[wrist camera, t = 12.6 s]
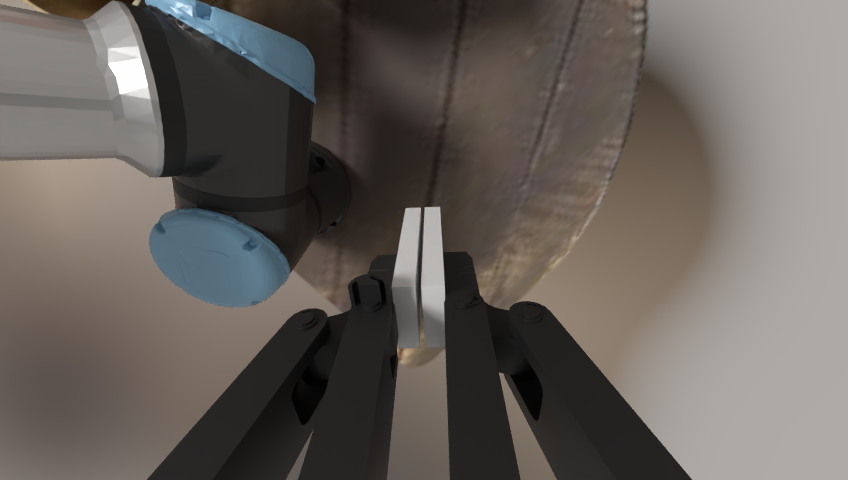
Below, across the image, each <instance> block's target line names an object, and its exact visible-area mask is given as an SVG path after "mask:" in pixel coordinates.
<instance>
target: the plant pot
mask: <svg viewBox="0 0 848 480" xmlns="http://www.w3.org/2000/svg"><path fill="white" fill-rule="evenodd" d="M23 1H24V2H26V3H27V4H29V5H30V6H31V7H33V8H34V9H36V10H37V11H39V12H42V13H47V14H53V15H58V16H63V17H68V18H73V19H79V20H83V19H88V18H89V17H91V16H92V15H93V14H95V13H96V12H97V11H99V10H100V9H101V8H103V7H104V6H105V5H107V4H108V3H109V2H111V1H113V0H23ZM114 1H120V2H123V3H128V4H132V5H136V6H140V7H145V8H148V6H147V5H146V3H145V0H114ZM197 1H200V2H203V3H206V4H208V5H210V4H212V3H213V2H214V1H216V0H197Z"/></svg>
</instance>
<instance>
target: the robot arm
mask: <svg viewBox="0 0 848 480" xmlns="http://www.w3.org/2000/svg"><path fill="white" fill-rule="evenodd" d="M145 3H146V5H147V6H148V8H145V7H140V6H136V5H132V4H128V3H123V2H120V1H114V0H113V1H111V2H109V3H108V4H107V5H105V6H104V7H103V8H101V9H100V10H99V11H97V12H96V13H95V14H93V15H92V16H91V17H89V18H88V19H83V20H79V19H73V18H68V17H63V16H58V15H53V14H47V13H42V12H37V11H31V10H27V9H21V8H16V7H11V6H6V5H0V161H14V160H15V161H17V160H54V159H55V160H56V159H57V160H58V159H98V158H99V159H100V158H116V159H119V160H122V161H125V162H126V163H128V164H129V165H131V166H133V167H134V168H136V169H138V170H139V171H141V172H143V173H144V174H146V175H147V176H149V177H155V178H157V177H172V181H173V189H174V197H175V204H176V205H175V209H174V210H172V211H170V212H167V213H165V214H164V215H162V217H161V218H160V220H159V221H158V223H157V224H155V226H154V227H153V229H152V231H151V234H150V238H149V246H150V250H151V254H152V256H153V259H154V261H155V263H156V264H157V266H158V267H159V268H160V270H161V271H162V272H163V273H164V275H165V276H166V277H167V278H169V279H170V280H171V281H172V282H173V283H174V284H175V285H177V286H179V287H180V288H182V289H183V290H184V291H186V292H187V293H188V294H190V295H192V296H194V297H196V298H198V299H200V300H203V301H205V302H209V303H211V304H215V305H219V306H225V307H248V306H252V305H256V304H258V303H260V302H262V301H265V300H267V299H268V298H270V297H271V296H272V295H273V294H274V293H275V292H276V291H277V290H278V289H279V288H280V287H281V286H282V285H283V284H284V283H285V282H286V281H287V279H288V277H289V274H290V273H291V271H292V270H293V268H294V267H295V266H296V264H297V263H298V261H299V260H300V258H301V257H302V255H303V254H304V252H305V251H306V250H307V248H308V247H309V245H310V244H311V242H312V241H313V239H315V238H318V237H320V236H322V235H325V234H327V233H328V232H330V231H331V230H333V229H334V228H335V227H336V226H337V225H338V224H339V223H340V222H341V220H342V219H343V217H344V215H345V214H346V212H347V210H348V207H349V203H350V196H351V192H350V184H349V180H348V177H347V175H346V173H345V171H344V169H343V167H342V165H341V164H340V163H339V161H338V160H337V159H336V158H335V157H334V156H333V155H332V154H331V153H330V152H329V151H328V150H326V149H325V148H323V147H322V146H320V145H318V144H316V143H314V142H312V141H311V133H312V119H313V105H314V104H316V98H315V97H314V80H315V65H314V60H313V57H312V55H311V53H310V52H309V50H308V49H307V48H306V47H305V46H304V45H303V44H302V43H300V42H299V41H297V40H295V39H293V38H291V37H289V36H286V35H284V34H282V33H280V32H277V31H275V30H273V29H270V28H268V27H265V26H263V25H260V24H258V23H256V22H253V21H251V20H248V19H245V18H243V17H240V16H238V15H235V14H233V13H230V12H227V11H225V10H222V9H219V8H217V7H212V6H210V5H208V4H206V3H203V2H200V1H197V0H145ZM348 290H349V295H350V300H351V305H352V307H351V310H349V311H347V312H345V313H342V314H338V315H334V316H330V317H327V314H326V313H325V312H324V311H323V310H320V309H306V310H302V311H300V312H298V313H296V314H294V315H293V316H292V317H290V318H289V319H288V320H287V321H286V322H285V324H284V325H283V326H282V327H281V328H280V329H279V330H278V332H277V333H276V334H275V335H274V336H273V337H272V338H271V339H270V341H269V342H268V343H267V344H266V345H265V346H264V347H263V349H262V350H261V351H260V352H259V353H258V354H257V355H256V357H255V358H254V359H253V360H252V361H251V362H250V363H249V364H248V366H247V367H246V368H245V369H244V370H243V371H242V372H241V373H240V375H239V376H238V377H237V378H236V379H235V380H234V382H233V383H232V384H231V385H230V386H229V387H228V388H227V389H226V391H225V392H224V393H223V394H222V395H221V396H220V397H219V398H218V400H217V401H216V402H215V403H214V404H213V405H212V406H211V407H210V409H209V410H208V411H207V412H206V413H205V414H204V416H203V417H202V418H201V419H200V420H199V421H198V422H197V423H196V424H195V426H194V427H193V428H192V429H191V430H190V431H189V432H188V434H187V435H186V436H185V437H184V438H183V439H182V440H181V442H180V443H179V444H178V445H177V446H176V447H175V448H174V449H173V451H172V452H171V453H170V454H169V455H168V456H167V457H166V459H165V460H164V461H163V462H162V463H161V464H160V465H159V466H158V468H157V469H156V470H155V471H154V472H153V473H152V475H151V476H150V477H149V478H148V479H147V480H286V478H287V476H288V474H289V473H290V471H291V469H292V467H293V465H294V464H295V462H296V460H297V458H298V456H299V454H300V452H301V451H302V449H303V447H304V445H305V443H306V442H307V440H308V438H309V436H310V434H311V433H312V431H313V433H312V437H311V440H310V443H309V446H308V449H307V453H306V456H305V459H304V463H303V466H302V469H301V472H300V475H299V478H298V480H387V471H388V462H389V451H390V441H391V430H392V419H393V409H394V397H395V388H396V377H397V366H398V355H397V344H398V345H399V348H420V332H421V307H422V306H423V320H424V334H425V348H433V347H446V377H447V408H448V438H449V470H450V480H520V475H519V470H518V465H517V460H516V455H515V451H514V445H513V440H512V435H511V430H510V426H509V421H508V416H507V412H506V406H505V401H504V396H503V391H502V386H501V381H500V376H499V372H500V373H504V376H505V379H506V381H507V383H508V385H509V387H510V389H511V390H512V393H513V395H514V396H515V398H516V400H517V402H518V404H519V406H520V408H521V410H522V412H523V414H524V416H525V418H526V420H527V422H528V424H529V426H530V428H531V429H532V432H533V433H534V435H535V437H536V439H537V441H538V443H539V445H540V447H541V449H542V451H543V453H544V455H545V457H546V459H547V461H548V463H549V465H550V467H551V469H552V471H553V472H554V475H555V476H556V478H557V480H692V479H691V478H690V477H689V476H688V474H687V473H686V472H685V471H684V470H683V468H682V467H681V466H680V465H679V464H678V463H677V461H676V460H675V459H674V458H673V456H672V455H671V454H670V453H669V452H668V451H667V449H666V448H665V447H664V446H663V445H662V443H661V442H660V441H659V440H658V439H657V437H656V436H655V435H654V434H653V433H652V432H651V430H650V429H649V428H648V427H647V426H646V424H645V423H644V422H643V421H642V420H641V418H640V417H639V416H638V415H637V414H636V413H635V411H634V410H633V409H632V408H631V407H630V405H629V404H628V403H627V402H626V401H625V399H624V398H623V397H622V396H621V395H620V394H619V392H618V391H617V390H616V389H615V388H614V386H613V385H612V384H611V383H610V382H609V380H608V379H607V378H606V377H605V376H604V374H603V373H602V372H601V371H600V370H599V369H598V367H597V366H596V365H595V364H594V363H593V361H592V360H591V359H590V358H589V357H588V356H587V354H586V353H585V352H584V351H583V350H582V348H581V347H580V346H579V345H578V344H577V343H576V341H575V340H574V339H573V338H572V336H570V334H569V333H568V332H567V331H566V330H565V328H564V327H563V326H562V325H561V323H560V322H559V321H558V320H557V319H556V317H555V316H554V315H553V314H552V313H551V312H550V311H549V310H548V309H547V308H546V307H545V306H542V305H540V304H538V303H535V302H530V301H526V302H525V301H524V302H518V303H515V304H513V305H512V306H511V307H510V309H509V310H504V309H499V308H495V307H493V306H490V305H488V304H487V303H486V302H484V300H483V298H482V297H481V296H480V294H479V289H478V284H477V279H476V275H475V270H474V265H473V260H472V257H471V256H470V255H469V254H468V253H467V252H443V249H442V232H441V216H440V207H425V212H424V234H423V237H422V221H421V208H406V209H405V214H404V220H403V225H402V231H401V237H400V242H399V248H398V253H397V255H382V256H377V257H376V258H375V259H374V260H373V261H372V262H371V265H370V269H369V272H368V274H364V275H361V276H359V277H356V278H355V279H353V280H352V281H351V282H350V283H349V285H348ZM313 429H314V430H313Z"/></svg>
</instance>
